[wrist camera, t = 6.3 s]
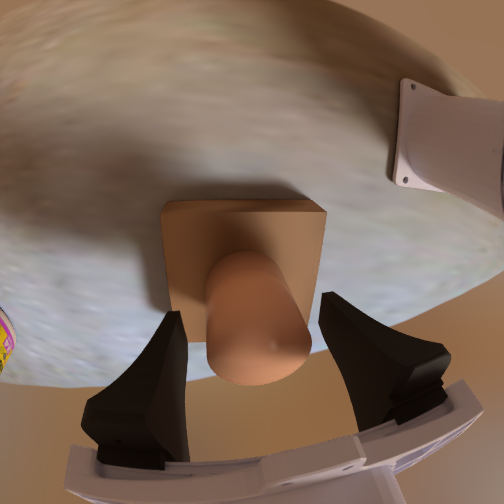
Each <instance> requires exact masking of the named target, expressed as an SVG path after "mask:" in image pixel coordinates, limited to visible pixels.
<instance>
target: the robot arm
mask: <svg viewBox="0 0 504 504" xmlns="http://www.w3.org/2000/svg"><path fill="white" fill-rule="evenodd" d="M411 84H412V86H413V89H412V88H411ZM404 177H405V181H404V182H403V178H404ZM393 183H394V184H396V185H398V186H403V187H411V188H418V189H425V190H432V191H438V192H445V193H449V194H451V195H454V196H456V197H458V198H460V199H462V200H464V201H466V202H468V203H470V204H472V205H474V206H476V207H478V208H480V209H482V210H484V211H486V212H488V213H490V214H492V215H493V216H495V217H497V218H499V219H501V220H502V221H504V102H503V101H497V100H490V99H482V98H472V97H460V96H447V95H445V94H443V93H441V92H439V91H436V90H434V89H432V88H430V87H428V86H425V85H423V84H421V83H418V82H416V81H413V80H411V79H408V78H403V79H402V80H401V82H400V108H399V124H398V136H397V147H396V156H395V164H394V172H393ZM318 324H319V327H320V330H321V333H322V335H323V338H324V340H325V342H326V344H327V346H328V348H329V350H330V352H331V354H332V356H333V358H334V360H335V362H336V364H337V366H338V368H339V370H340V372H341V374H342V376H343V379H344V382H345V384H346V387H347V390H348V393H349V396H350V399H351V403H352V406H353V410H354V413H355V417H356V421H357V425H358V430H359V433H357V434H353V435H348V436H343V437H339V438H336V439H332V440H328V441H325V442H321V443H317V444H313V445H309V446H306V447H301V448H297V449H291V450H286V451H282V452H278V453H274V454H271V455H267V456H261V457H254V458H245V459H236V460H226V461H210V462H190V456H189V448H188V440H187V430H186V416H185V386H186V375H187V364H188V340H187V336H186V332H185V329H184V325H183V321H182V317H181V313H180V310H179V311H168V312H167V313H166V315H165V317H164V318H163V320H162V322H161V324H160V325H159V327H158V329H157V330H156V332H155V334H154V335H153V337H152V338H151V340H150V341H149V343H148V344H147V346H146V347H145V348H144V350H143V351H142V353H141V354H140V355H139V356H138V358H137V359H136V360H135V361H134V362H133V363H132V365H131V366H130V367H129V368H128V369H127V370H126V371H125V372H124V373H123V374H122V375H121V376H120V377H119V378H117V379H116V380H115V381H114V382H113V383H111V384H110V385H109V386H108V387H106V388H105V389H104V390H102V391H101V392H99V393H98V394H96V395H95V396H93V397H92V398H90V399H88V400H87V403H86V406H85V409H84V413H83V417H82V422H81V427H82V429H83V430H84V432H85V433H86V434H87V435H88V436H89V437H90V438H91V439H93V440H94V441H95V442H96V443H97V444H98V445H99V446H98V451H97V450H95V449H93V448H89V447H83V446H78V445H74V444H72V445H71V446H70V452H69V456H68V462H67V468H66V475H65V481H64V489H65V490H67V491H69V492H71V493H73V494H75V495H77V496H79V497H81V498H84V499H85V500H88V501H90V502H92V503H95V504H406V502H405V499H404V497H403V495H402V492H401V490H400V487H399V485H398V483H397V480H396V478H395V476H394V475H395V474H397V473H399V472H401V471H403V470H405V469H406V468H408V467H410V466H412V465H414V464H415V463H417V462H419V461H421V460H422V459H424V458H425V457H427V456H428V455H430V454H432V453H433V452H435V451H436V450H438V449H440V448H441V447H443V446H444V445H446V444H447V443H449V442H450V441H452V440H453V439H455V438H456V437H457V436H459V435H460V434H462V433H463V432H464V431H465V430H466V429H467V428H468V427H469V426H470V425H471V424H472V423H473V422H474V421H475V420H476V419H477V418H478V417H479V416H480V415H481V414H482V413H483V412H484V408H483V407H482V405H481V404H480V402H479V401H478V399H477V398H476V396H475V395H474V394H473V392H472V391H471V390H470V388H469V387H468V385H467V384H466V382H465V381H464V380H463V379H460V380H458V381H457V382H455V383H453V384H451V385H450V386H449V387H447V388H446V389H445V390H444V389H443V388H442V385H443V381H442V380H441V377H442V375H443V374H444V372H445V370H446V369H447V367H448V366H449V364H450V361H451V354H450V353H449V352H448V351H447V349H446V348H445V347H444V346H443V344H440V343H436V342H430V341H425V340H422V339H418V338H415V337H412V336H409V335H406V334H403V333H401V332H398V331H396V330H394V329H391V328H389V327H387V326H385V325H383V324H381V323H380V322H378V321H376V320H374V319H373V318H371V317H369V316H368V315H366V314H365V313H363V312H362V311H360V310H359V309H357V308H356V307H354V306H353V305H351V304H350V303H349V302H347V301H346V300H345V299H343V298H342V297H340V296H339V295H338V294H336V293H335V292H333V291H332V292H326V293H322V297H321V306H320V313H319V321H318Z"/></svg>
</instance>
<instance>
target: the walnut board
mask: <svg viewBox="0 0 504 504" xmlns="http://www.w3.org/2000/svg"><path fill="white" fill-rule="evenodd" d="M326 216H327V212H326V211H325V210H324V209H322V208H321V207H320V206H319V205H318V204H316V203H315V202H314V201H313V200H294V199H231V200H193V201H170V202H166V204H165V206H164V208H163V210H162V212H161V214H160V221H161V232H162V241H163V250H164V259H165V267H166V274H167V281H168V288H169V295H170V301H171V308H172V311H179V310H180V313H181V317H182V321H183V325H184V329H185V332H186V336H187V340H188V342H206V280H207V277H208V274H209V272H210V270H211V269H212V268H213V266H214V265H215V264H216V263H217V262H218V261H219V260H221V259H222V258H224V257H226V256H228V255H230V254H232V253H236V252H241V251H254V252H259V253H262V254H264V255H266V256H268V257H270V258H271V259H273V260H274V261H275V262H276V263H277V265H278V266H279V268H280V270H281V272H282V274H283V276H284V278H285V280H286V282H287V284H288V287H289V289H290V291H291V293H292V295H293V297H294V300H295V302H296V304H297V306H298V308H299V310H300V313H301V315H302V317H303V319H304V321H305V323H306V326H307V327H308V322H309V317H310V312H311V307H312V302H313V297H314V291H315V286H316V280H317V274H318V269H319V263H320V257H321V250H322V244H323V237H324V230H325V223H326Z"/></svg>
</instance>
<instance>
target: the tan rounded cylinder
mask: <svg viewBox="0 0 504 504" xmlns="http://www.w3.org/2000/svg"><path fill="white" fill-rule="evenodd" d="M311 346H312V339H311V335H310V332H309V330H308V328H307V326H306V323H305V321H304V319H303V317H302V315H301V313H300V310H299V308H298V306H297V304H296V302H295V300H294V297H293V295H292V293H291V291H290V289H289V287H288V284H287V282H286V280H285V278H284V276H283V274H282V272H281V270H280V268H279V266H278V265H277V263H276V262H275V261H274V260H273V259H271V258H270V257H268V256H266V255H264V254H262V253H259V252H254V251H241V252H236V253H232V254H230V255H228V256H226V257H224V258H222V259H221V260H219V261H218V262H217V263H216V264H215V265H214V266H213V268H212V269H211V270H210V272H209V274H208V277H207V280H206V347H207V361H208V364H209V366H210V368H211V369H212V370H213V372H214V373H215V374H217V375H218V376H219V377H221V378H223V379H225V380H226V381H229V382H232V383H235V384H240V385H262V384H267V383H271V382H274V381H277V380H280V379H282V378H284V377H286V376H288V375H290V374H291V373H293V372H294V371H296V370H297V369H298V368H299V367H300V366H301V365H302V364H303V363H304V362H305V360H306V359H307V357H308V355H309V353H310V351H311Z"/></svg>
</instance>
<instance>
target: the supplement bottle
mask: <svg viewBox="0 0 504 504" xmlns="http://www.w3.org/2000/svg"><path fill="white" fill-rule="evenodd" d="M15 345H16V334H15V331H14V328H13V326H12V324H11V322H10V320H9V319H8V317H7V316H6V315H5V313H4V312H3V311H2V310H1V309H0V374H1V372H2V370H3V368H4V366H5V364H6V362H7V360H8V358H9V356H10V355H11V353H12V351H13V349H14V347H15Z"/></svg>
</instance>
